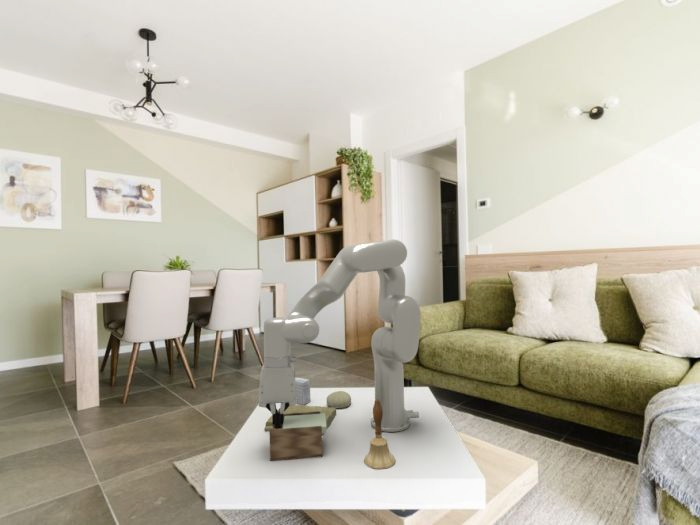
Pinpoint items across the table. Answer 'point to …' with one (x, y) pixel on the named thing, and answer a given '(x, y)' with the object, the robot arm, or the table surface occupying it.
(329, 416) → the decorative tile
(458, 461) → the table surface
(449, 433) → the table surface
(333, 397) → the sea urchin shell
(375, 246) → the robot arm
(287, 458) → the box
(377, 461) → the hand bell
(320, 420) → the cover plate
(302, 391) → the medicine box
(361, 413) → the table surface
